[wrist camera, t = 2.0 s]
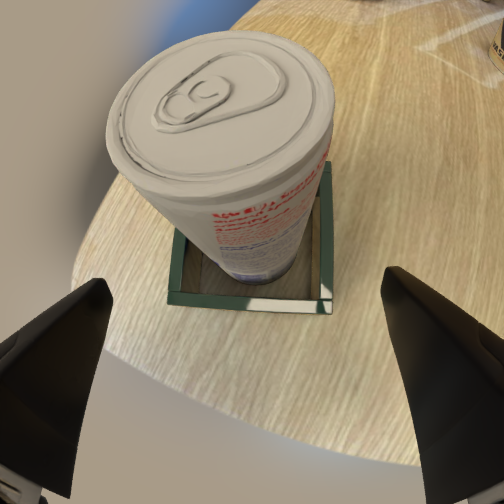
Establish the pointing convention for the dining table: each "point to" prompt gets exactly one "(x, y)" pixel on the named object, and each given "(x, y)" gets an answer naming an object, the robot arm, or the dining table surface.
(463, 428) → the robot arm
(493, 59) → the coffee cup
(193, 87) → the beverage can
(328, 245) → the caddy
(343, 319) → the dining table surface
